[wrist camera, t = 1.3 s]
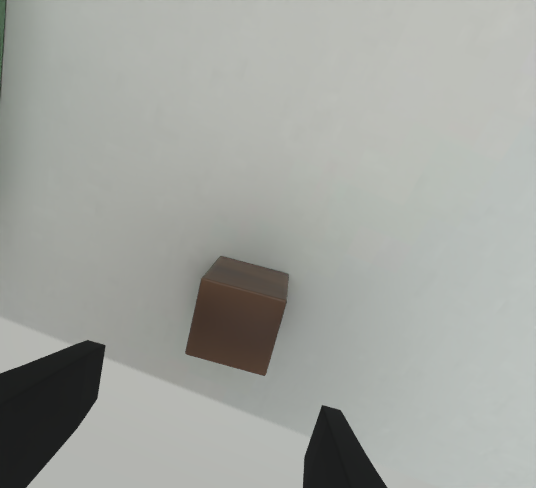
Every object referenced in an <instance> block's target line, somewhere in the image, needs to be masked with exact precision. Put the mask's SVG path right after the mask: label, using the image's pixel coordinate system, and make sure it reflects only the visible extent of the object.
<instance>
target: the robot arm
mask: <svg viewBox="0 0 536 488" xmlns="http://www.w3.org/2000/svg"><path fill="white" fill-rule="evenodd" d="M104 352H105V345H103V344H99V343H96V342H92V341H89V340H87V341H84V342H81V343H78V344H76V345H73V346H70V347H68V348H66V349H63V350H60V351H58V352H56V353H53V354H51V355H48V356H45V357H43V358H40V359H38V360H35V361H33V362H30V363H28V364H25V365H22V366H20V367H17V368H14V369H11V370H9V371H6V372H3V373H1V374H0V488H26V487H27V486H28V485H29V484H30V482H31V481H32V480H33V479H34V478H35V477H36V475H37V474H38V473H39V472H40V471H41V470H42V469H43V467H44V466H45V465H46V464H47V463H48V462H49V460H50V459H51V458H52V457H53V456H54V455H55V453H56V452H57V451H58V450H59V449H60V448H61V447H62V445H63V444H64V443H65V442H66V441H67V439H68V438H69V437H70V436H71V435H72V434H73V432H74V431H75V430H76V429H77V428H78V426H79V425H80V423H81V422H82V421H83V419H84V418H85V416H86V415H87V413H88V412H89V410H90V409H91V407H92V406H93V404H94V403H95V401H96V400H97V397H98V391H99V384H100V377H101V370H102V365H103V358H104ZM303 488H387V487H386V485H385V483H384V482H383V480H382V479H381V477H380V476H379V474H378V473H377V471H376V470H375V468H374V467H373V465H372V463H371V462H370V460H369V458H368V457H367V455H366V453H365V452H364V450H363V448H362V447H361V445H360V443H359V441H358V440H357V438H356V436H355V434H354V433H353V431H352V429H351V427H350V426H349V424H348V422H347V420H346V418H345V417H344V415H343V413H342V412H341V410H338V409H334V408H330V407H327V406H323V405H322V407H321V410H320V413H319V416H318V419H317V422H316V425H315V428H314V431H313V434H312V436H311V439H310V443H309V446H308V448H307V451H306V454H305V459H304V477H303Z"/></svg>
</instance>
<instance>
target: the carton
mask: <svg viewBox="0 0 536 488" xmlns="http://www.w3.org/2000/svg"><path fill="white" fill-rule="evenodd" d="M5 4H6V0H0V85H1V69H2V53H3V36H4V20H5Z"/></svg>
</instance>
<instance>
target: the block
mask: <svg viewBox="0 0 536 488" xmlns="http://www.w3.org/2000/svg"><path fill="white" fill-rule="evenodd" d="M288 278H289V275H288V274H286V273H282V272H279V271H275V270H271V269H268V268H264V267H260V266H256V265H253V264H249V263H245V262H241V261H238V260H234V259H230V258H227V257H223V256H220V257H219V259H218V260H217V261H216V262H215V263H214V264H213V266H212V267H211V268H210V269H209V270H208V271H207V273H206V274H205V275H204V276H203V277H202V279H201V283H200V287H199V292H198V296H197V301H196V306H195V310H194V315H193V319H192V324H191V328H190V333H189V338H188V342H187V347H186V351H185V353H186V354H187V355H190V356H194V357H198V358H201V359H205V360H208V361H212V362H216V363H219V364H223V365H227V366H230V367H234V368H237V369H241V370H245V371H248V372H252V373H256V374H259V375H263V376H265V375H266V373H267V369H268V366H269V362H270V359H271V355H272V352H273V348H274V345H275V341H276V338H277V334H278V331H279V327H280V324H281V320H282V317H283V313H284V310H285V306H286V303H287V292H288Z"/></svg>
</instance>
